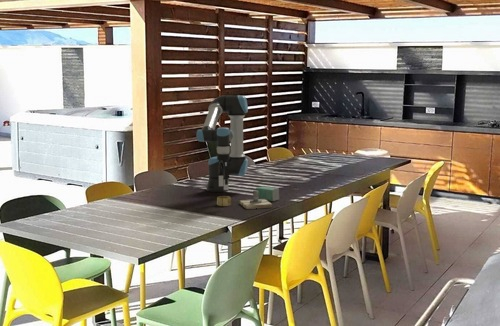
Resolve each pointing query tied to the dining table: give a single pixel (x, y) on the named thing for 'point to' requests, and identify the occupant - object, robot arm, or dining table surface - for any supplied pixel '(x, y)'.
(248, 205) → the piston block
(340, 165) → the dining table surface
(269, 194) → the box
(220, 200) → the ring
